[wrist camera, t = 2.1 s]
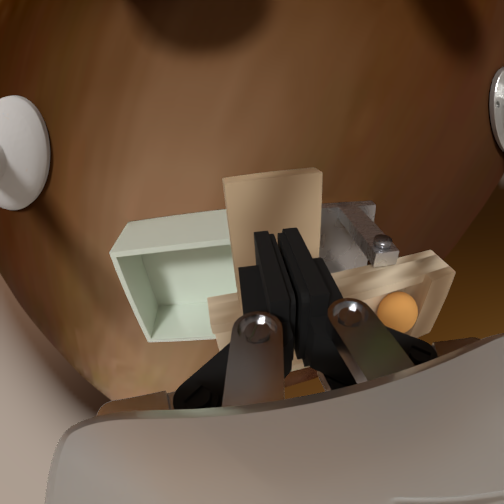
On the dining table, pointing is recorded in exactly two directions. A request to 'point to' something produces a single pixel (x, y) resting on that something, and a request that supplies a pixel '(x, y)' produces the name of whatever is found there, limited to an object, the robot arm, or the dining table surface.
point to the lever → (316, 250)
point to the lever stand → (353, 237)
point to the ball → (398, 311)
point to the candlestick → (22, 152)
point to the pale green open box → (175, 272)
